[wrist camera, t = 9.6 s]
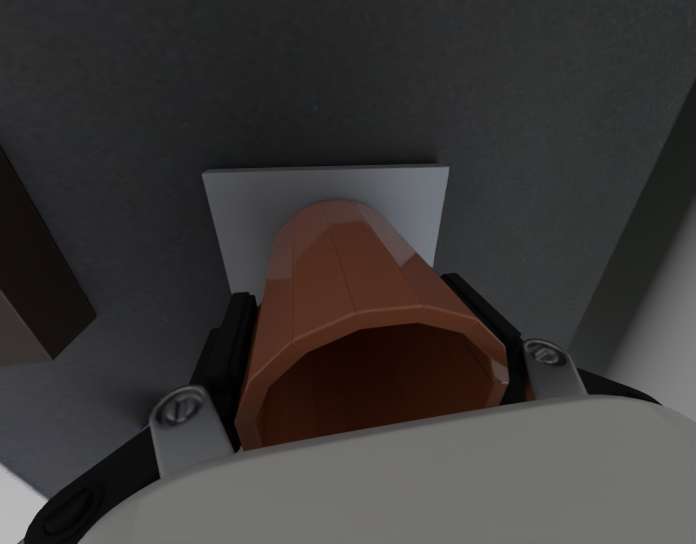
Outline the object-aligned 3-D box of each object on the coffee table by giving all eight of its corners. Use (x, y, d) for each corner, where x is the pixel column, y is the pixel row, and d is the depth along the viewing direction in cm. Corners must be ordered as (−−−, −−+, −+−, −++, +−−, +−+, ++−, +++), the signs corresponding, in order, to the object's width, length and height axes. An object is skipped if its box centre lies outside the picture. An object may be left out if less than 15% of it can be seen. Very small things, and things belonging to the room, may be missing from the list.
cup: (257, 202, 13) (200, 328, 5) (407, 196, 14) (549, 291, 6) (277, 325, 16) (262, 507, 9) (395, 312, 17) (474, 464, 10)
